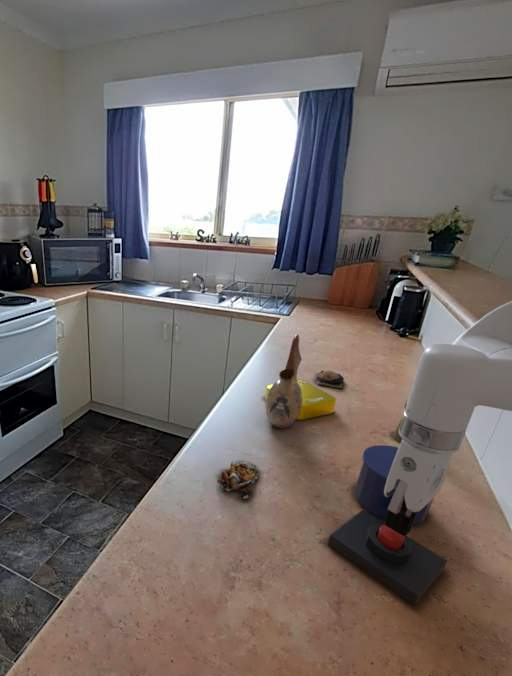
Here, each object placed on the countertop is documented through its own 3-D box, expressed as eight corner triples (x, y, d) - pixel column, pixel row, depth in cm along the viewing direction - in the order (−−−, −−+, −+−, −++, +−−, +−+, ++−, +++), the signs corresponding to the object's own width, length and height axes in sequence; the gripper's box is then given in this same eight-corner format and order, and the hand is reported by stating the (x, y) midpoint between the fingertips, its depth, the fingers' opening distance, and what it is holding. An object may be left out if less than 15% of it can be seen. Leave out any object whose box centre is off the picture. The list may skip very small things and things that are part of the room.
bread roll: (342, 390, 129) (345, 380, 128) (315, 384, 132) (317, 374, 131) (342, 378, 138) (345, 368, 137) (317, 373, 141) (319, 364, 140)
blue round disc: (453, 476, 75) (464, 448, 73) (423, 503, 67) (435, 474, 65) (381, 442, 85) (389, 417, 83) (348, 463, 77) (355, 436, 75)
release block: (443, 570, 64) (451, 552, 63) (413, 606, 58) (422, 587, 57) (359, 518, 75) (365, 501, 73) (327, 544, 68) (332, 526, 67)
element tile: (296, 421, 108) (299, 405, 106) (261, 398, 121) (264, 383, 119) (336, 412, 114) (340, 397, 112) (299, 391, 126) (302, 377, 125)
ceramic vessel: (269, 407, 115) (283, 324, 105) (301, 415, 111) (319, 329, 102) (255, 433, 101) (271, 340, 91) (291, 443, 98) (312, 347, 88)
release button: (405, 543, 65) (408, 535, 64) (395, 553, 63) (398, 545, 62) (383, 529, 67) (386, 521, 67) (373, 538, 65) (375, 530, 65)
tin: (436, 508, 78) (450, 472, 75) (408, 535, 71) (422, 498, 68) (373, 474, 87) (383, 442, 84) (342, 496, 80) (352, 461, 77)
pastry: (262, 469, 87) (264, 455, 86) (247, 501, 77) (250, 486, 76) (231, 459, 90) (233, 446, 89) (213, 489, 80) (215, 475, 79)
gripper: (438, 460, 50) (400, 567, 57) (479, 426, 58) (441, 523, 65) (379, 434, 55) (350, 534, 62) (424, 406, 64) (394, 497, 71)
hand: (396, 528), depth 64 cm, fingers closed
